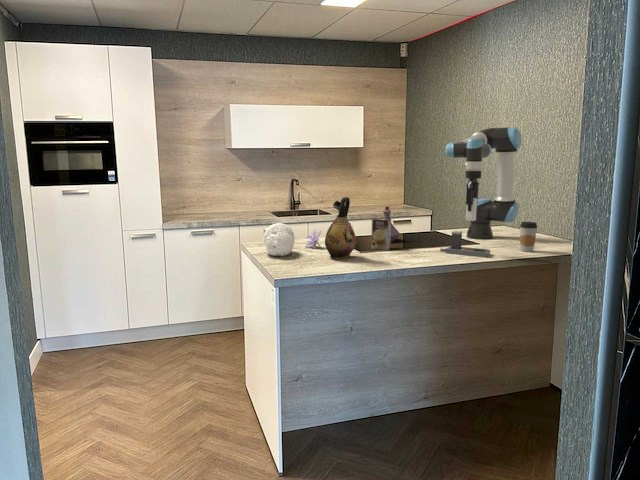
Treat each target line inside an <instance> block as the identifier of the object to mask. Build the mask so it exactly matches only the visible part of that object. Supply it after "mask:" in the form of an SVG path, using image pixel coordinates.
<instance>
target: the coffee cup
mask: <svg viewBox="0 0 640 480" xmlns="http://www.w3.org/2000/svg"><path fill="white" fill-rule="evenodd" d="M519 228H520V235H519V238H520V239H519V240H520V242H519V243H520V246H519V247H520V248H519V249H520V251H521V252H523V253H533V252H534V249H535V244H536V237H537V230H538V224H537V222H535V221H533V222H532V221H521V223H520V227H519Z"/></svg>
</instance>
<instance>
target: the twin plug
mask: <svg viewBox="0 0 640 480" xmlns="http://www.w3.org/2000/svg"><path fill="white" fill-rule="evenodd" d="M462 237H463V230H452V231H451V244H450V246H451V249H461V247H462V242H463V241H462Z"/></svg>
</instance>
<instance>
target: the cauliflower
mask: <svg viewBox="0 0 640 480" xmlns="http://www.w3.org/2000/svg"><path fill="white" fill-rule="evenodd" d="M262 239H263V245H264V246H265V250H266V252H267V253H268V254H269V255H270V256H272V257H278V256H280V257H285V256H287V255H289V254H291V252H292V251H293V249H294V245H295V243H296V242H295V239H296V238H295V234H294V231H293V229H292V227H291V226H289V225H288V224H285V223H281V222H278V223H273V224H271V225H268V227H267V228H266V230H265V231H264V234H263V237H262Z"/></svg>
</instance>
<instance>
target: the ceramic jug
mask: <svg viewBox="0 0 640 480" xmlns="http://www.w3.org/2000/svg"><path fill="white" fill-rule="evenodd" d="M350 201H351V200H350V197H349V196H345V197H344V196H343V197H342V198H341V199H340V201H338V200H335V201H334V202H333V204H332V207H333V208H334V209H336V210H337V211H338V214H337V215H336V218H335V219H334V220H333V221H332V222H331V224H330V226H329V228H328V229H327V231H326V235H325V238H324V246H325V249H326V250H327V252H328V254H329V258H331V259H333V260H335V259H337V260H345V258H346V259H349V258H350V255H351V254H352V252H353V251H354V249H355V247H356V244H357V238H356V234H355V230H354V228H353V226H352V225H351V222H350V221H349V220H348V213H349V209H350V205H351V202H350Z"/></svg>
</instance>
